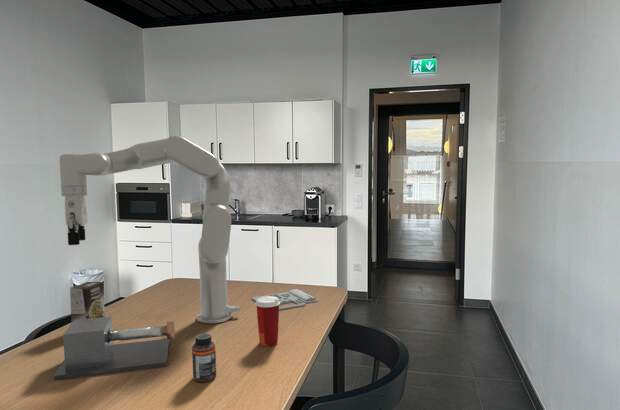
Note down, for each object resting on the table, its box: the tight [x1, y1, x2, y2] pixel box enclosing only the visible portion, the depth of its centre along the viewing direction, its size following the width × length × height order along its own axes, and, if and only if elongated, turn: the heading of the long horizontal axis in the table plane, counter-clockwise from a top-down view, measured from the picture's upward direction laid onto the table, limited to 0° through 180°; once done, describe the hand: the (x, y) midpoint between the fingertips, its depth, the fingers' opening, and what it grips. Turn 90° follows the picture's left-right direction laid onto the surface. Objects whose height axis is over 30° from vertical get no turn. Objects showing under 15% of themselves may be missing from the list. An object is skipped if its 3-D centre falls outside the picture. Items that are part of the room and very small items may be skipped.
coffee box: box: [69, 281, 106, 323], centre depth 149 cm, size 9×6×16 cm
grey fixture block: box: [53, 316, 170, 381], centre depth 126 cm, size 28×18×11 cm, turn 105°
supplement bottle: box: [191, 333, 217, 383], centre depth 114 cm, size 6×6×11 cm
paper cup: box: [254, 296, 281, 347], centre depth 136 cm, size 8×8×14 cm
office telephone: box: [251, 288, 319, 312], centre depth 181 cm, size 23×3×20 cm
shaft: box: [107, 320, 176, 343], centre depth 127 cm, size 22×5×5 cm, turn 105°
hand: (77, 242), depth 146 cm, fingers open, 9 cm apart
